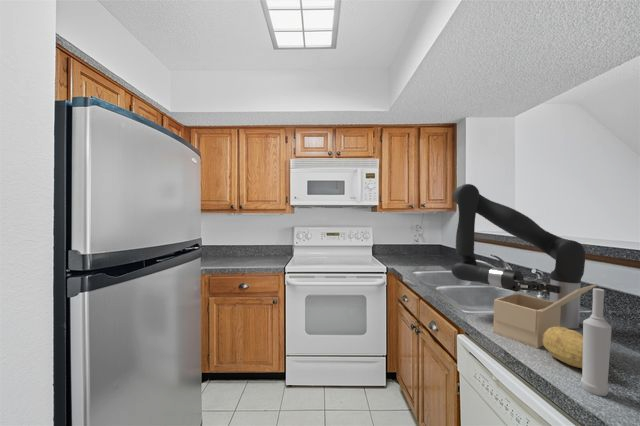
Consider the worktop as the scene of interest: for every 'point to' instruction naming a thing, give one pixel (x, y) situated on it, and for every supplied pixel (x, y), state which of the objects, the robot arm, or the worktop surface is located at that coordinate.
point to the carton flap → (569, 297)
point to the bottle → (596, 348)
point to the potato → (564, 345)
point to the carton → (524, 318)
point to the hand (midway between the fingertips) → (560, 290)
